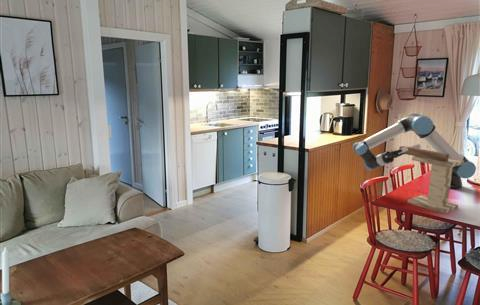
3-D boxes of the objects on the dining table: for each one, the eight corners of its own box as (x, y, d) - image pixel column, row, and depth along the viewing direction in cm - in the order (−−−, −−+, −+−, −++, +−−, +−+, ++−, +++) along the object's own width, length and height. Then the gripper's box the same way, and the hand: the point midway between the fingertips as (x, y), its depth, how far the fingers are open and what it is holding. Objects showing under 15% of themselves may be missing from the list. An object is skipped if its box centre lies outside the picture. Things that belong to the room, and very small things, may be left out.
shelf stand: (421, 197, 232) (427, 153, 225) (457, 208, 214) (464, 160, 208) (407, 202, 223) (412, 156, 217) (443, 213, 205) (450, 163, 199)
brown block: (402, 152, 228) (403, 145, 227) (448, 160, 206) (449, 154, 205) (398, 152, 226) (399, 146, 225) (444, 161, 203) (445, 154, 202)
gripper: (398, 161, 243) (427, 150, 226) (375, 166, 229) (403, 155, 212) (394, 150, 245) (422, 139, 227) (371, 155, 231) (399, 143, 214)
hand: (413, 147), depth 220 cm, fingers open, 13 cm apart
